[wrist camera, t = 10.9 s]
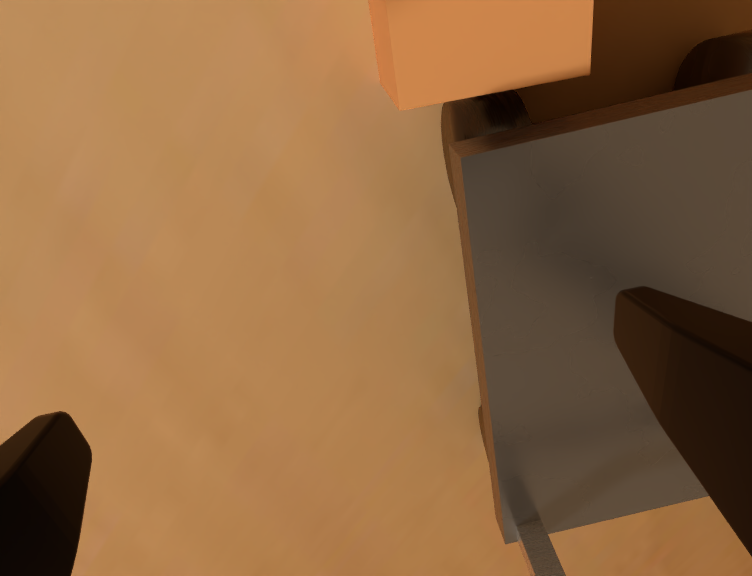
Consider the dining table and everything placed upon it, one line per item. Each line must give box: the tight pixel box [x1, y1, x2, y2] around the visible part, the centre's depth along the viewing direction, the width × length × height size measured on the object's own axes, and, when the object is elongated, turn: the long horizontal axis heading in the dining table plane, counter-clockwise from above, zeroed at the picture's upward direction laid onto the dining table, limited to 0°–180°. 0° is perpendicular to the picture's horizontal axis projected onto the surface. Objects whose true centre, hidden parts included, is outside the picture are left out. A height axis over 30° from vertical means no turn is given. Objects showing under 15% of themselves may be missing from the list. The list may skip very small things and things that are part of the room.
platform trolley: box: [441, 30, 752, 576], centre depth 18 cm, size 11×17×10 cm, turn 11°
